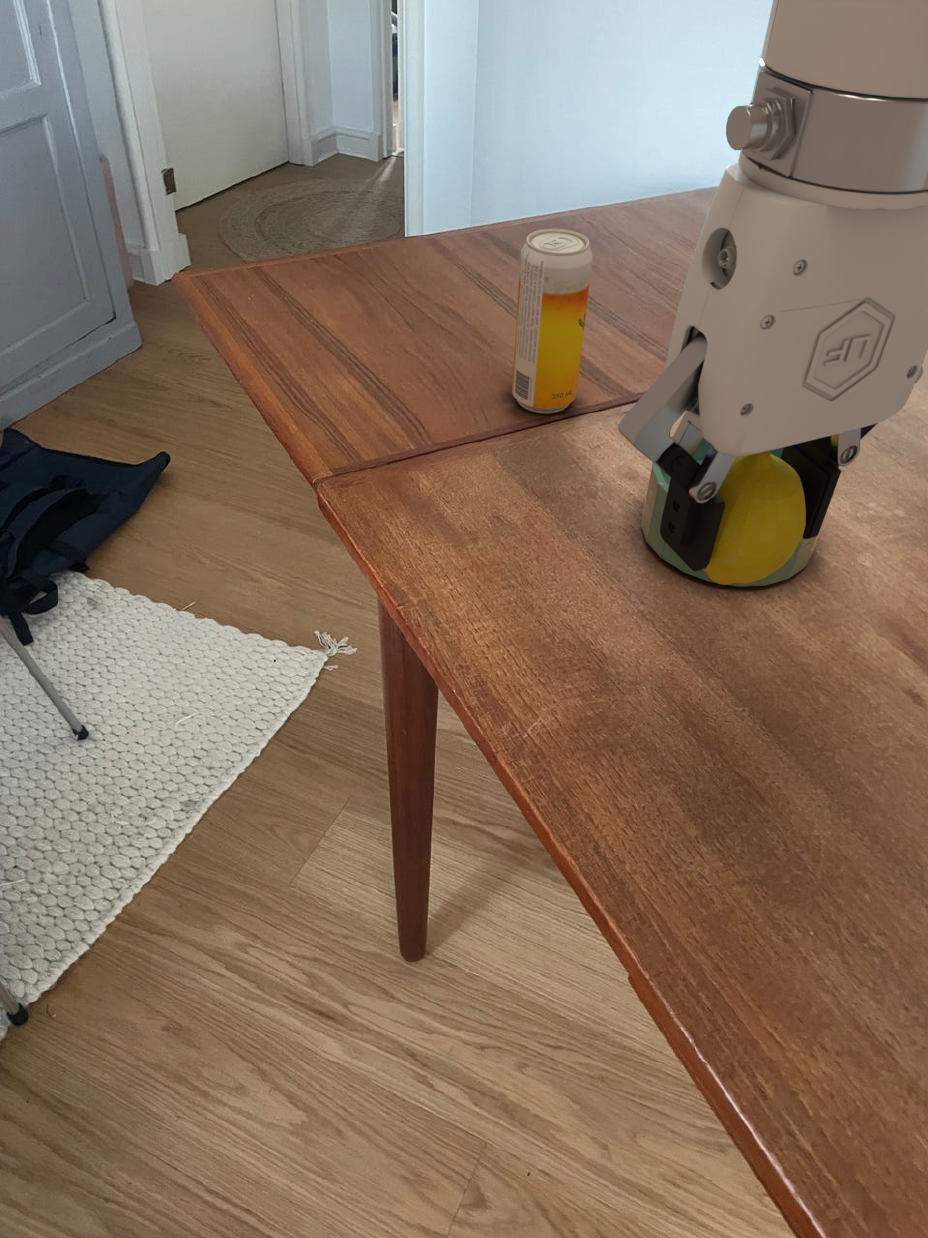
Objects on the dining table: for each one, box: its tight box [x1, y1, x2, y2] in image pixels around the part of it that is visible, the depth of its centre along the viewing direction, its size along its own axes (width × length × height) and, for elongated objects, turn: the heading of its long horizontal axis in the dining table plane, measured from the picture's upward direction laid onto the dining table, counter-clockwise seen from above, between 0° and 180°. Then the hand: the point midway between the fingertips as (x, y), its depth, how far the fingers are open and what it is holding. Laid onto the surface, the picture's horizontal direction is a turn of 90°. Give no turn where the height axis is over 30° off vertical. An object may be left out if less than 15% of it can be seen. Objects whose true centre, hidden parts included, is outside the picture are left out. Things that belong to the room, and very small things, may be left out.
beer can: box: [511, 228, 594, 414], centre depth 83 cm, size 6×6×15 cm
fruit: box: [703, 451, 806, 586], centre depth 44 cm, size 6×6×8 cm
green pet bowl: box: [640, 435, 835, 588], centre depth 72 cm, size 13×13×6 cm
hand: (738, 534), depth 45 cm, fingers closed on fruit, 5 cm apart
